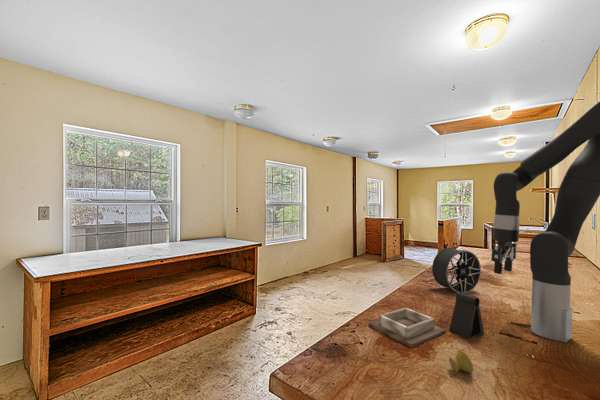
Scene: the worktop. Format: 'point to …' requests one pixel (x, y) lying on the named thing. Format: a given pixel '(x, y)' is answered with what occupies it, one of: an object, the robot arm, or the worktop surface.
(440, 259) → the wheel rim
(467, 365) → the knob
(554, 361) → the worktop surface
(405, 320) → the collar stand
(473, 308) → the phone stand
